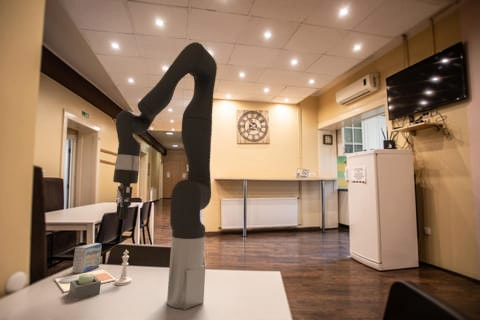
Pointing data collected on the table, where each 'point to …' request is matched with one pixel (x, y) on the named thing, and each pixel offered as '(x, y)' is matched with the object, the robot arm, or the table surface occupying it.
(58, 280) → the sheet
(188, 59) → the robot arm
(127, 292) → the table surface
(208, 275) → the table surface
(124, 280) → the chess piece
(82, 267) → the medicine box
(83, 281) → the button
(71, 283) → the button box
